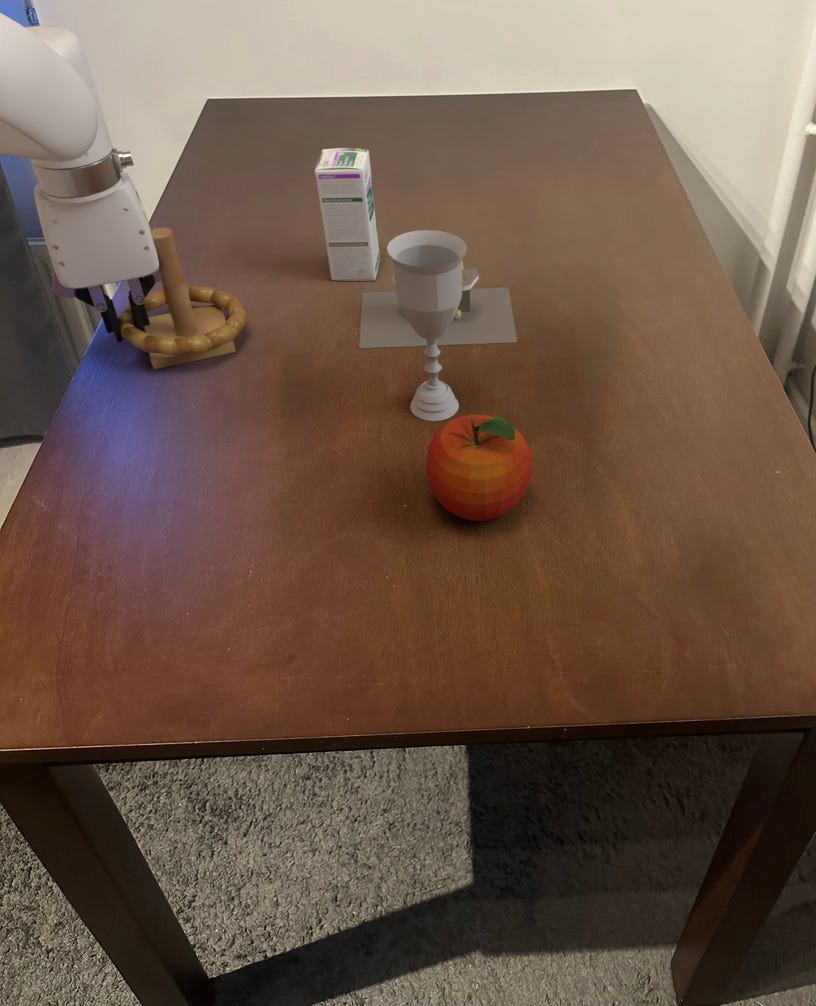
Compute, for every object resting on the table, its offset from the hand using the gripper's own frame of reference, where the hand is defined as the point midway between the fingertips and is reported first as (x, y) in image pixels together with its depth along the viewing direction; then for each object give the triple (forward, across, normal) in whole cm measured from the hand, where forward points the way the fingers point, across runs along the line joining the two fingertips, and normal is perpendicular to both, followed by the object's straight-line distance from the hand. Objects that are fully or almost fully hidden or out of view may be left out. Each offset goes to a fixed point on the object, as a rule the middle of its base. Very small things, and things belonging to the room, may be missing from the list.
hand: (130, 332), depth 99 cm
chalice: (+3, -28, +22) cm, 36 cm away
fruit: (+3, -27, +37) cm, 46 cm away
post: (+2, -6, 0) cm, 6 cm away
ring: (0, -6, 0) cm, 6 cm away
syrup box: (+3, -28, -8) cm, 29 cm away
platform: (+3, -34, +6) cm, 35 cm away
